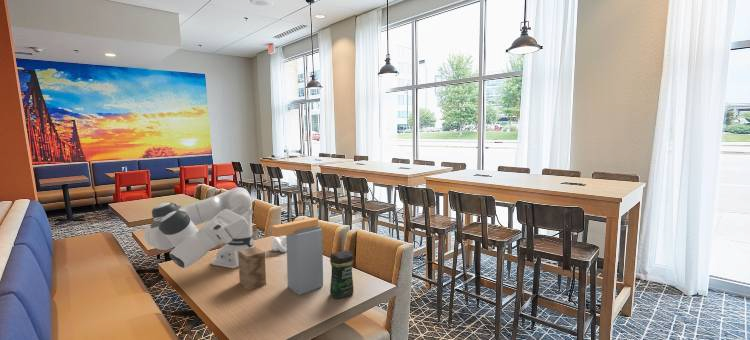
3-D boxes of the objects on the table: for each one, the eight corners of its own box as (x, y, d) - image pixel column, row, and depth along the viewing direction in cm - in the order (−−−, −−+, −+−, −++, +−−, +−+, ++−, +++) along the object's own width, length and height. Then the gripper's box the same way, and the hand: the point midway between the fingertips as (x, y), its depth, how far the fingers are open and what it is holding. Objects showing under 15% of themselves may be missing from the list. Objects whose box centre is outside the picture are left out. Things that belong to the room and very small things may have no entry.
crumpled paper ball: (265, 252, 198) (265, 236, 197) (280, 245, 209) (279, 231, 208) (280, 255, 193) (280, 239, 192) (295, 248, 204) (294, 234, 203)
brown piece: (248, 289, 151) (247, 256, 149) (239, 282, 158) (238, 250, 157) (266, 284, 156) (264, 252, 155) (256, 277, 164) (255, 246, 162)
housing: (299, 294, 146) (297, 232, 143) (287, 286, 154) (286, 227, 151) (323, 286, 155) (322, 227, 152) (311, 279, 162) (309, 222, 159)
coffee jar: (337, 301, 141) (336, 257, 139) (327, 293, 147) (326, 251, 145) (356, 294, 147) (356, 251, 145) (346, 287, 153) (346, 246, 151)
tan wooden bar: (276, 237, 140) (276, 227, 140) (272, 235, 143) (271, 225, 143) (318, 227, 154) (318, 219, 153) (313, 226, 157) (313, 217, 156)
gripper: (211, 231, 137) (241, 210, 144) (230, 244, 122) (262, 219, 129) (202, 219, 134) (232, 198, 142) (220, 230, 119) (253, 206, 127)
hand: (247, 208), depth 135 cm, fingers open, 8 cm apart
